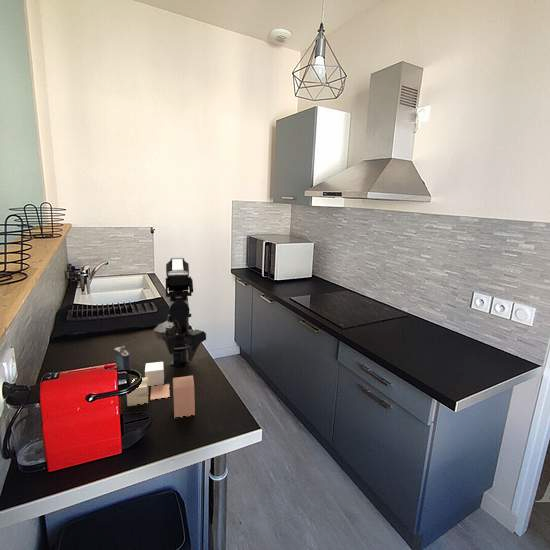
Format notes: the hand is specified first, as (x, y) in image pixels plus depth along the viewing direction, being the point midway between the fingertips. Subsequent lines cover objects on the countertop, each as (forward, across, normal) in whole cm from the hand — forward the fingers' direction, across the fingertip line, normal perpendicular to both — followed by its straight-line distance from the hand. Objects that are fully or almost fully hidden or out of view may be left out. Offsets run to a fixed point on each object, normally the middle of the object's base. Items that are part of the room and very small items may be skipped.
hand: (180, 357), depth 109 cm
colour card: (+13, -7, -3) cm, 15 cm away
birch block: (+14, -10, -10) cm, 19 cm away
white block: (+13, -14, 0) cm, 19 cm away
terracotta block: (+14, +7, -5) cm, 17 cm away
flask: (+12, -28, -3) cm, 31 cm away
